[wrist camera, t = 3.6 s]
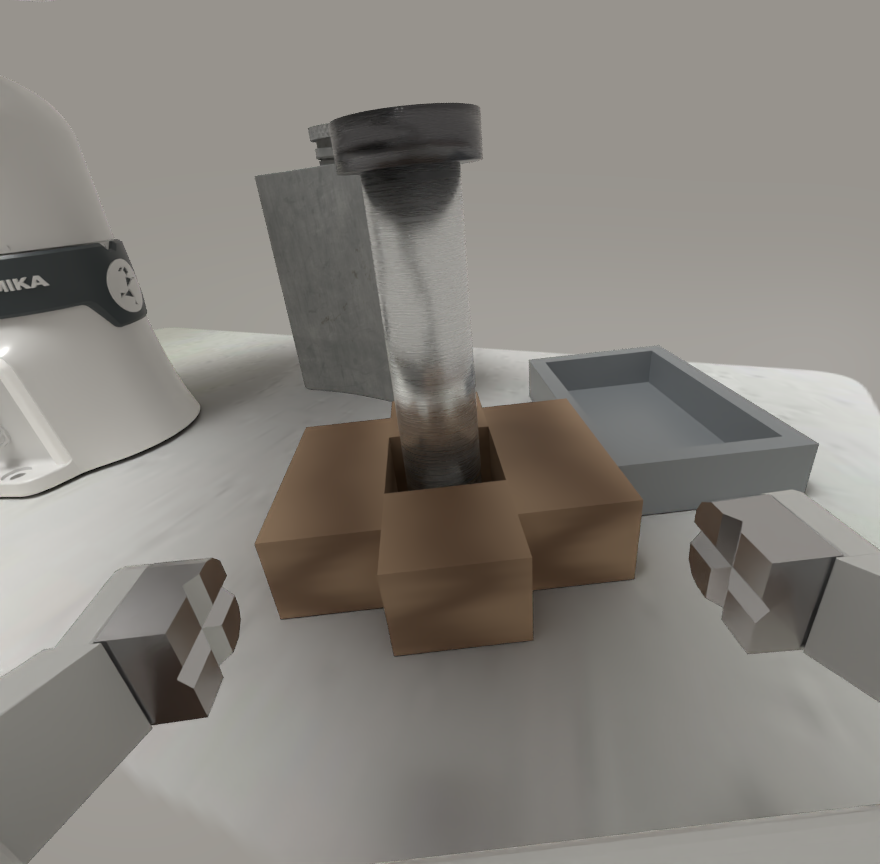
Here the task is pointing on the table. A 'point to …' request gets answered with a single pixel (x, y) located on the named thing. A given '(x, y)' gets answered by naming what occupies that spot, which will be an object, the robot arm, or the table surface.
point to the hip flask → (327, 274)
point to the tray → (675, 427)
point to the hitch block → (449, 528)
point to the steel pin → (421, 275)
